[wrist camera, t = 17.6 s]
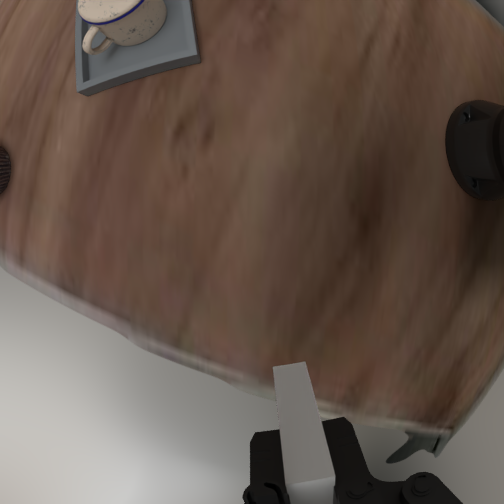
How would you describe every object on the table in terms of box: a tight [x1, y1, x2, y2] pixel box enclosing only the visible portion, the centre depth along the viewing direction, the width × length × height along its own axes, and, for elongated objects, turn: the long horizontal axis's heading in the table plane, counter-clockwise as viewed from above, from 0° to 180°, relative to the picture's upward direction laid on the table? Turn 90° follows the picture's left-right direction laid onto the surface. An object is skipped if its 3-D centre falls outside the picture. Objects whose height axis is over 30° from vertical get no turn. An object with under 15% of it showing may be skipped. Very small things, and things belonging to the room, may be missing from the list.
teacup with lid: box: [78, 0, 167, 55], centre depth 25 cm, size 12×9×12 cm
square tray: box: [75, 0, 201, 96], centre depth 30 cm, size 16×16×3 cm
